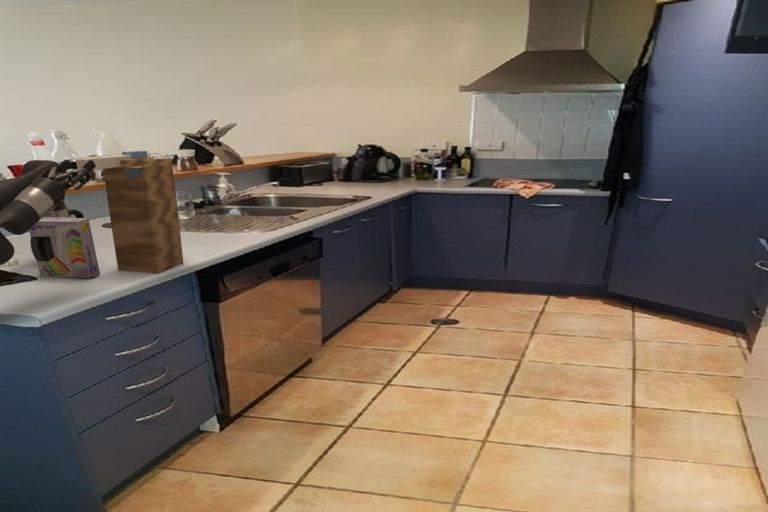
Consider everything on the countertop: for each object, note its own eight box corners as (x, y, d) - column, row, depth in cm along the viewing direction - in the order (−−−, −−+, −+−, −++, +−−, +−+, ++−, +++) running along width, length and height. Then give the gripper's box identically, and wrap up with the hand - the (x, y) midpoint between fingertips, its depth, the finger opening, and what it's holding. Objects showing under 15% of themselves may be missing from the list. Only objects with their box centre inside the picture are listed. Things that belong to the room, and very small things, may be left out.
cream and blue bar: (87, 170, 138) (85, 155, 137) (76, 170, 139) (73, 155, 138) (150, 163, 160) (149, 150, 159) (140, 163, 161) (138, 150, 160)
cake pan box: (34, 276, 153) (23, 218, 148) (49, 271, 157) (38, 215, 153) (88, 280, 148) (78, 220, 144) (101, 275, 153) (92, 217, 149)
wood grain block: (156, 274, 153) (141, 160, 144) (116, 270, 158) (99, 160, 149) (183, 263, 165) (171, 157, 156) (145, 260, 169) (132, 157, 160)
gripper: (51, 188, 123) (94, 151, 133) (8, 186, 127) (52, 150, 138) (69, 212, 128) (109, 174, 139) (27, 209, 132) (68, 173, 143)
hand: (80, 162), depth 138 cm, fingers open, 8 cm apart
